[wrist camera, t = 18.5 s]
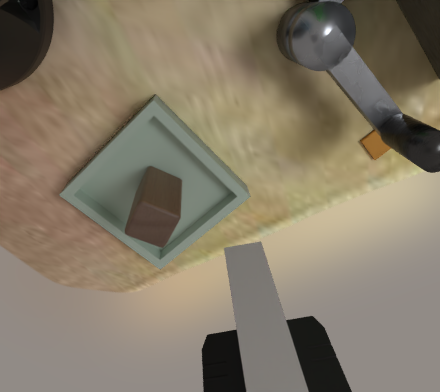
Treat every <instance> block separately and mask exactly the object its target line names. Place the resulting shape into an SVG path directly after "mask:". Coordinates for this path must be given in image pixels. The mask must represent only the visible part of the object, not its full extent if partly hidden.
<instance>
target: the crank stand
mask: <svg viewBox="0 0 440 392" xmlns="http://www.w3.org/2000/svg"><path fill="white" fill-rule="evenodd" d="M322 1H334V2H338V3H341V2H343V1H344V0H310V2H309V3H300V4H297V5H295V6H293V7H292V8H290V9H289V10H288V11H287V12H286V13H285V14H284V15H283V17H282V18H281V20H280V22H279V25H278V29H277V43H278V46H279V49H280V51H281V52H282V54H283V55H284V56H285V57H286V58H288V59H289V60H292V61H294V62H296V63H298V62H297V61H296V60H295V59H294V58H293V56H292V54H291V52H290V49H289V43H288V36H289V31H290V27H291V25H292V22H293V20H294V19H295V17H296V16H297V15H298V13H299V12H300V11H301V10H302V9H304V8H305V7H306V6H308V5H310V4H312V3H315V2H322ZM396 1H397V2H398V4H399V6H400V8H401V10H402V12H403V13H404V15H405V17H406V19H407V21H408V23H409V24H410V26H411V28H412V30H413V32H414V34H415V35H416V37H417V39H418V41H419V43H420V45H421V46H422V48H423V50H424V52H425V54H426V56H427V57H428V59H429V61H430V63H431V65H432V67H433V68H434V70H435V72H436V74H437V76H438V78H439V79H440V0H396ZM298 64H299V63H298ZM361 142H362V144H363V145H364V147H365V148H366V149H367V151H368V152H369V153H370V155H371V156H372V157H373V159H374V160H376V159H377V158H379V157H380V156H381V155H383V154H384V153H385V152H387V151H388V150H389V149H391V147H389V146H388V145H386V144H385V143H384V142H383V141H382V139H381V136H379V135H378V134H377V133H376V131H375V130H374V131H372V132H371V133H370V134H368V135H367V136H366V137H365V138H363V139H362V140H361Z"/></svg>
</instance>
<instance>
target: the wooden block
mask: <svg viewBox="0 0 440 392" xmlns="http://www.w3.org/2000/svg"><path fill="white" fill-rule="evenodd" d="M181 199H182V180H181V179H180V178H178V177H176V176H173V175H171V174H169V173H166V172H164V171H162V170H160V169H157V168H155V167H153V166H149V167H148V168H147V170H146V172H145V174H144V176H143V178H142V180H141V182H140V185H139V187H138V189H137V191H136V193H135V197H134V200H133V203H132V207H131V210H130V213H129V217H128V220H127V223H126V227H125V234H126V235H127V236H130V237H133V238H136V239H138V240H141V241H144V242H147V243H149V244H152V245H155V246H157V247H160V248H163V247H164V246H165V245H166V244H167V242H168V240H169V239H170V237H171V235H172V233H173V231H174V229H175V228H176V226H177V224H178V222H179V220H180V219H181Z"/></svg>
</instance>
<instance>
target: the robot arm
mask: <svg viewBox="0 0 440 392" xmlns="http://www.w3.org/2000/svg"><path fill="white" fill-rule="evenodd" d="M53 23H54V13H53V4H52V0H0V90H3V89H5V88H8V87H10V86H13V85H15V84H17V83H19V82H21V81H23V80H24V79H26V78H27V77H28V76H30V75H31V74H32V73H33V72H34V71H35V70H36V69H37V68H38V66H39V65H40V64H41V62H42V61H43V59H44V57H45V55H46V53H47V51H48V49H49V46H50V42H51V38H52V33H53ZM224 251H225V257H226V264H227V270H228V277H229V283H230V290H231V296H232V302H233V308H234V315H235V322H236V328H237V330H232V331H226V332H221V333H214V334H209V335H207V337H206V340H205V342H204V345H203V348H202V364H203V381H204V382H203V387H204V392H352V391H351V389H350V387H349V384H348V382H347V380H346V377H345V375H344V373H343V370H342V368H341V366H340V363H339V361H338V359H337V357H336V354H335V352H334V349H333V347H332V346H331V342H330V340H329V337H328V335H327V333H326V331H325V328H324V327H323V326H322V325H321V324H320V323H319V322H318V321H317V320H316V319H315V318H314V317H313V316H309V317H303V318H297V319H292V320H286V319H285V316H284V313H283V309H282V306H281V303H280V300H279V297H278V293H277V290H276V287H275V284H274V281H273V278H272V274H271V271H270V268H269V265H268V262H267V259H266V256H265V253H264V250H263V246H262V243H261V242H256V243H250V244H244V245H238V246H232V247H226V248H224Z"/></svg>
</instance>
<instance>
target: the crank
mask: <svg viewBox="0 0 440 392" xmlns="http://www.w3.org/2000/svg"><path fill="white" fill-rule="evenodd" d="M355 34H356V27H355V22H354V19H353V16H352V14H351V13H350V11H349V10H348V9H347V8H346V7H345V6H344V5H342V4H340V3H338V2H334V1H322V2H315V3H312V4H310V5H308V6H306V7H305V8H304V9H302V10H301V11H300V12H299V13H298V15H297V16H296V17H295V19H294V20H293V22H292V25H291V27H290V31H289V36H288V43H289V49H290V52H291V54H292V56H293V58H294V59H295V60H296V61H297V62H298V63H299V64H300V65H302V66H304V67H306V68H308V69H311V70H314V71H325V70H326V71H327V73H328V74H329V75H330V76H331V78H332V79H333V80H334V81H335V82H336V84H337V85H338V86H339V87H340V89H341V90H342V91H343V92H344V93H345V95H346V96H347V97H348V98H349V100H350V101H351V102H352V103H353V104H354V106H355V107H356V108H357V109H358V111H359V112H360V113H361V114H362V115H363V117H364V118H365V119H366V120H367V122H368V123H369V124H370V125H371V126H372V128H373V129H374V130H375V131H376V133H377V134H378V135H379V136H381V139H382V141H383V142H384V143H385V144H386V145H388V146H389V147H391V148H392V149H394V150H395V151H396V152H398V153H399V154H401V155H402V156H404V157H405V158H407V159H408V160H410V161H411V162H413V163H414V164H416V165H417V166H419V167H420V168H422V169H423V170H425V171H427V172H431V173H433V172H439V171H440V131H439V130H437V129H435V128H433V127H431V126H429V125H427V124H425V123H423V122H421V121H418V120H416V119H414V118H412V117H410V116H408V115H405V114H403V113H402V112H401V111H400V109H399V108H398V107H397V105H396V104H395V103H394V101H393V100H392V99H391V97H390V96H389V95H388V93H387V92H386V91H385V89H384V88H383V87H382V85H381V84H380V83H379V81H378V80H377V79H376V77H375V76H374V75H373V73H372V72H371V71H370V69H369V68H368V67H367V65H366V64H365V63H364V61H363V60H362V59H361V57H360V56H359V55H358V53H357V52H356V51H355V49H354V48H353V47H352V46H353V44H354V40H355Z"/></svg>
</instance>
